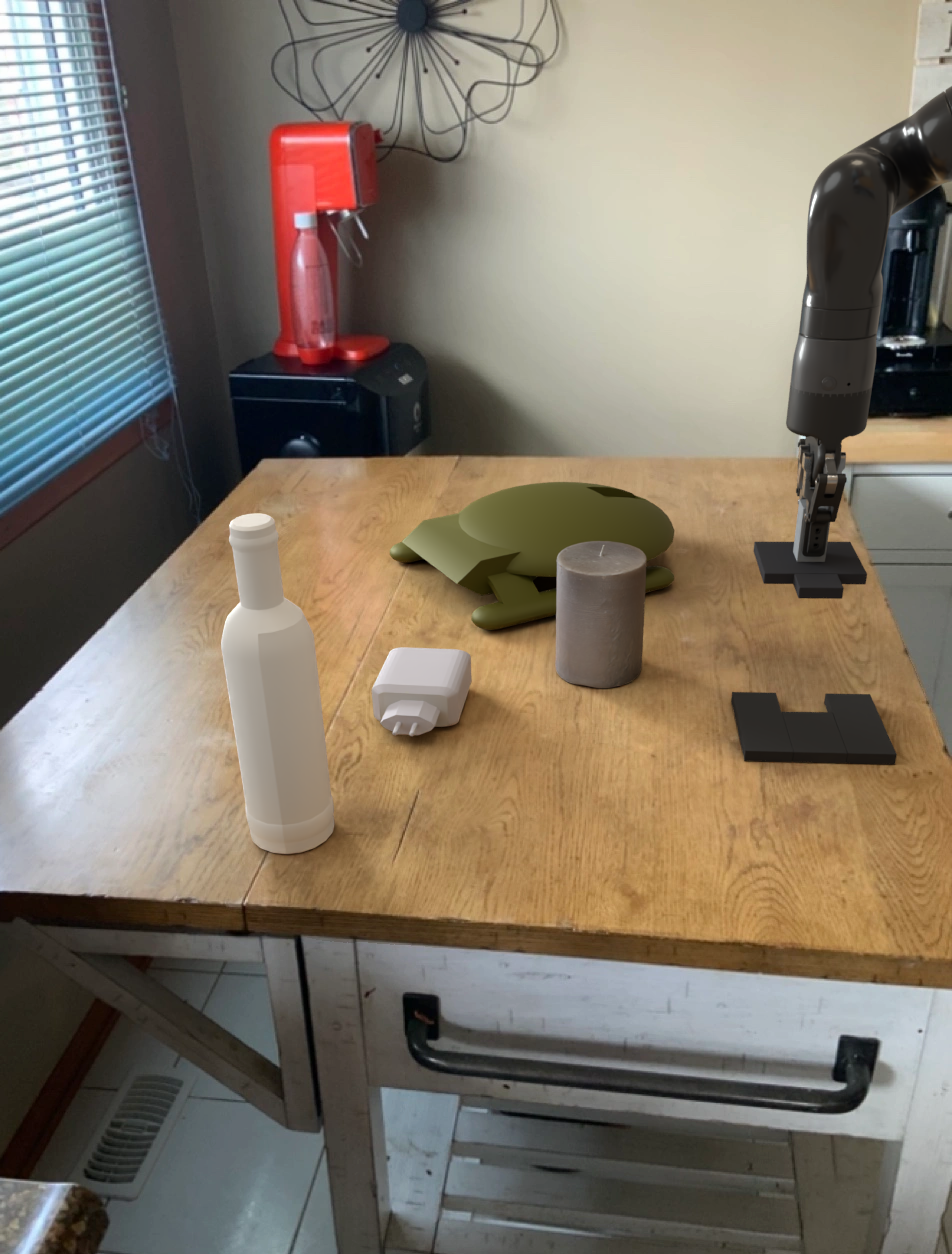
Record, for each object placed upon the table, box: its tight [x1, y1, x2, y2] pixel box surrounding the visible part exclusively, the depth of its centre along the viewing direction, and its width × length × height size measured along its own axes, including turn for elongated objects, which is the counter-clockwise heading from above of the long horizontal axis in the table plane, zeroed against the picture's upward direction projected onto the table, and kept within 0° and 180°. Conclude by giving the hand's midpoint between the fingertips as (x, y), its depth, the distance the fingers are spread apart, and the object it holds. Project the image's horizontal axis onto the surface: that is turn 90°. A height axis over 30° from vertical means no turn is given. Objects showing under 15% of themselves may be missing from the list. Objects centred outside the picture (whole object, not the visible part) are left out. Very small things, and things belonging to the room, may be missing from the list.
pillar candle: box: [554, 541, 648, 689], centre depth 125 cm, size 10×10×15 cm
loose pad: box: [753, 499, 868, 600], centre depth 115 cm, size 10×13×7 cm
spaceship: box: [389, 481, 675, 631], centre depth 152 cm, size 35×31×10 cm
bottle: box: [220, 512, 335, 855], centre depth 97 cm, size 8×8×30 cm
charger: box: [371, 646, 473, 737], centre depth 120 cm, size 5×9×15 cm
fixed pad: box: [730, 691, 898, 766], centre depth 114 cm, size 14×12×1 cm
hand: (809, 548), depth 118 cm, fingers closed on loose pad, 3 cm apart
